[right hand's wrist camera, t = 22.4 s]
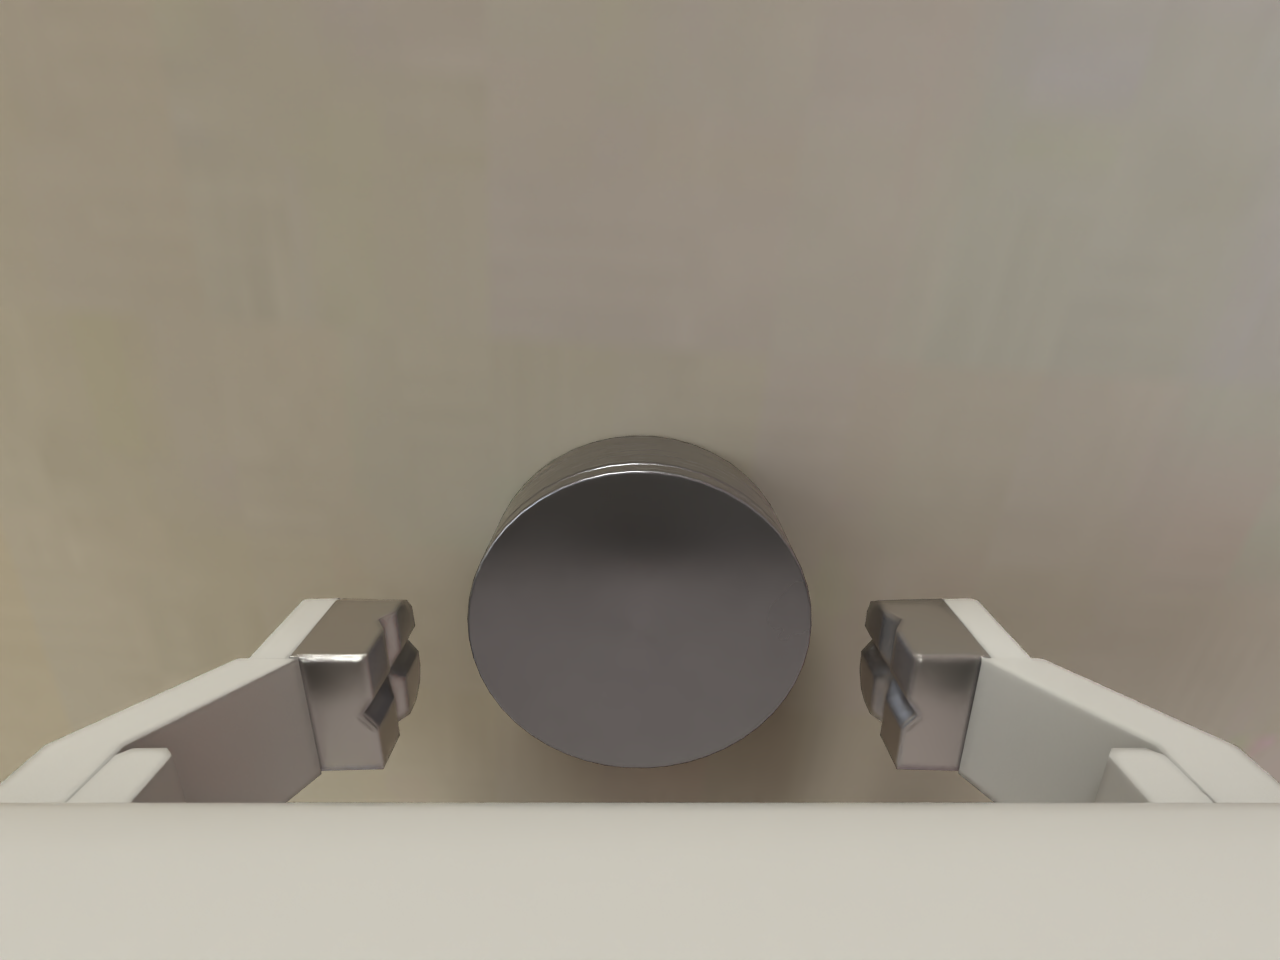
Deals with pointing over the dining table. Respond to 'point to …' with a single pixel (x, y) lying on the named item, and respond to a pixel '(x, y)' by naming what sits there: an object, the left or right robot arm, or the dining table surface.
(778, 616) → the lid
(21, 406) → the dining table surface
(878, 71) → the dining table surface
